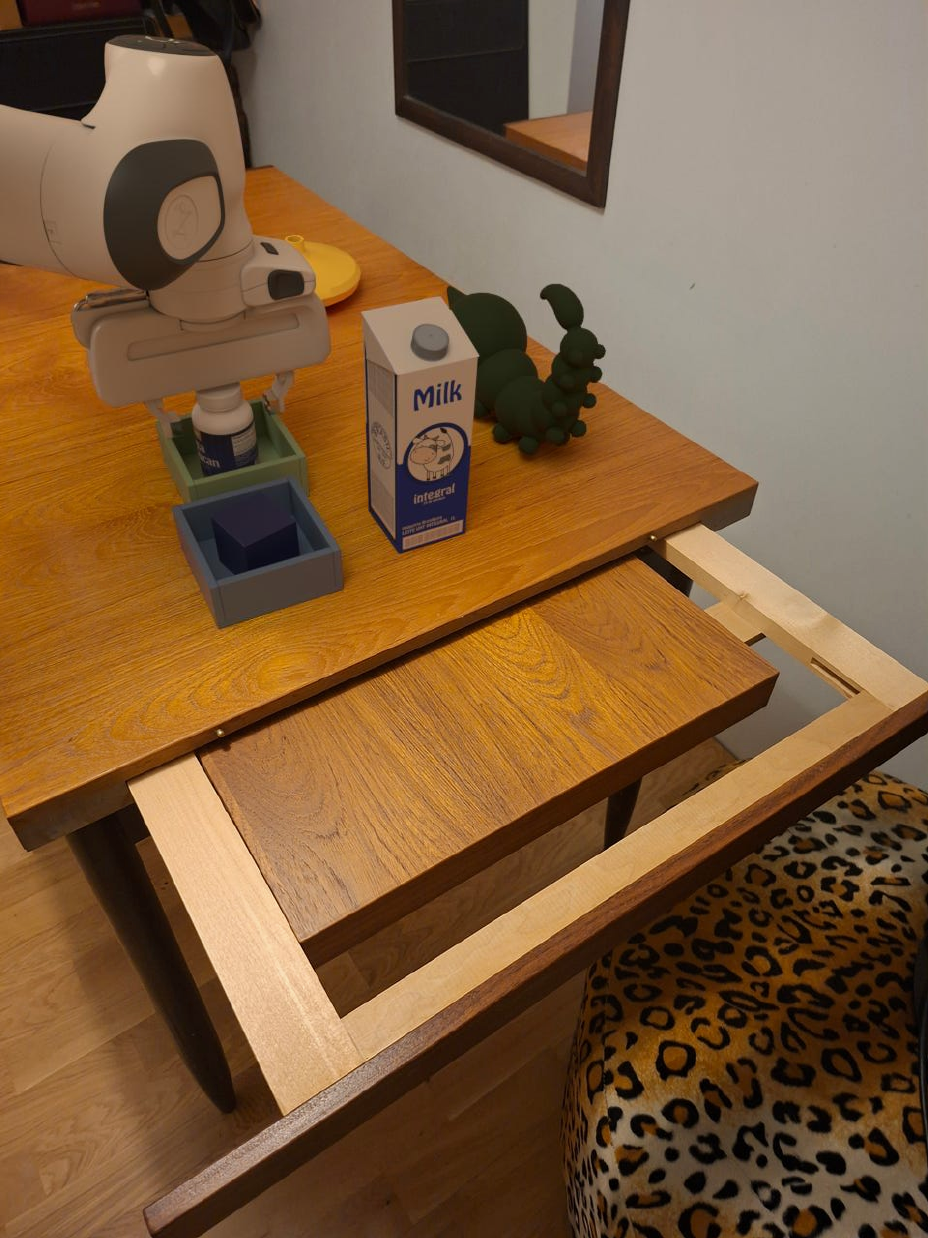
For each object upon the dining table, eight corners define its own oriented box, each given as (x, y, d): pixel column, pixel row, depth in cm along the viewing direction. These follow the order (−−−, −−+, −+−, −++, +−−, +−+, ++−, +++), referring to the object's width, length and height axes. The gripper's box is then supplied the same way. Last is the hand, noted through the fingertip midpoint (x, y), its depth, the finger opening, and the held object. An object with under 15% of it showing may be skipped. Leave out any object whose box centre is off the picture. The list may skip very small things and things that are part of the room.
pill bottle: (191, 477, 82) (171, 386, 75) (232, 451, 85) (217, 362, 78) (232, 499, 80) (216, 408, 73) (272, 472, 84) (261, 382, 76)
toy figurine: (596, 475, 90) (476, 344, 103) (644, 311, 75) (497, 181, 88) (519, 500, 86) (405, 361, 99) (554, 333, 72) (415, 194, 84)
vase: (371, 273, 115) (370, 219, 110) (348, 331, 104) (346, 273, 99) (254, 261, 116) (247, 207, 110) (219, 318, 105) (210, 260, 100)
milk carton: (433, 491, 84) (441, 292, 69) (467, 532, 80) (481, 331, 65) (366, 510, 81) (359, 308, 67) (397, 554, 77) (396, 350, 63)
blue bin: (218, 629, 70) (209, 588, 67) (180, 547, 76) (170, 506, 73) (343, 589, 74) (341, 549, 71) (297, 514, 80) (293, 474, 77)
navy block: (251, 591, 72) (244, 547, 69) (219, 560, 75) (210, 515, 71) (301, 565, 75) (296, 520, 71) (267, 536, 77) (261, 491, 74)
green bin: (196, 527, 78) (187, 486, 75) (164, 461, 85) (154, 420, 81) (309, 496, 82) (306, 456, 79) (270, 435, 89) (265, 395, 85)
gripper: (72, 315, 63) (116, 469, 73) (334, 270, 71) (341, 415, 81) (55, 278, 67) (99, 430, 77) (305, 239, 74) (316, 382, 84)
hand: (225, 422), depth 79 cm, fingers open, 8 cm apart
